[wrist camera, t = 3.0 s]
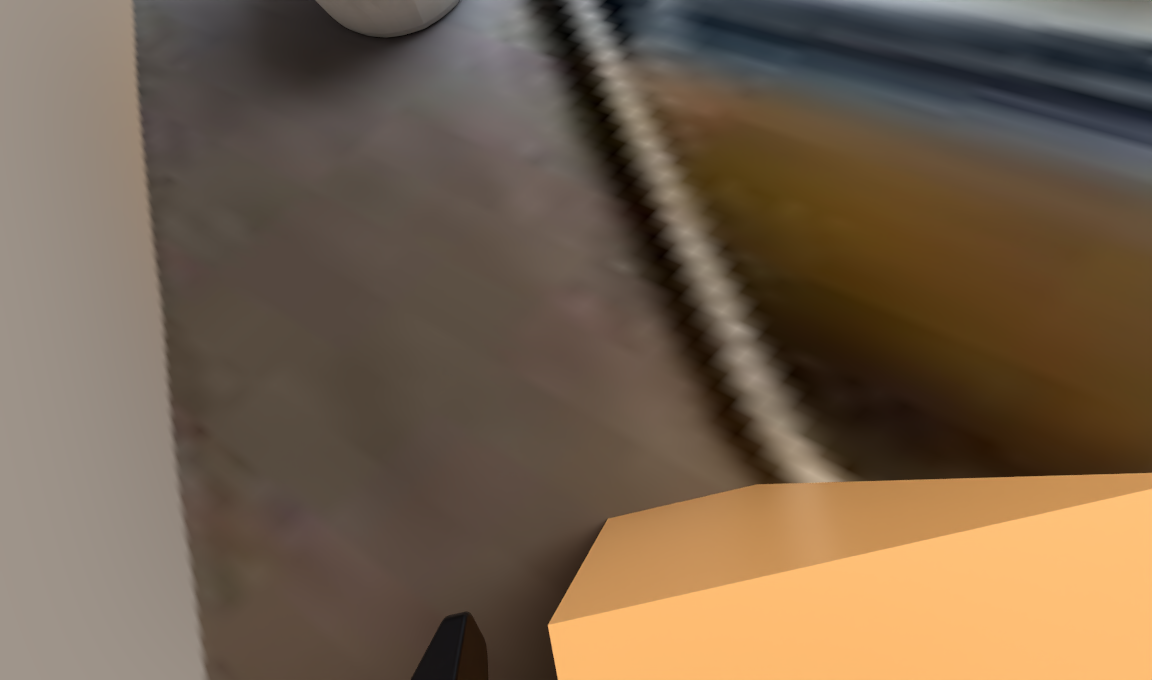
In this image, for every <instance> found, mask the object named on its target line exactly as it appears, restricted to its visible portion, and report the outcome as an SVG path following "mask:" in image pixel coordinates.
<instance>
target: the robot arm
mask: <svg viewBox="0 0 1152 680" xmlns="http://www.w3.org/2000/svg"><path fill="white" fill-rule="evenodd" d="M411 680H488V660H487V648H486V643H485V640H484V637H483V635H482V633H481V632H480V630H479V628H478V626H477V624H476V622H475V620H474V618H473V616H472V615H471V613H469V612H462V613H458V614H453V615H449V616H447V617H446V618H444V619H443V621H442V622H441V624H440V626H439V628H438V630H437V632H436V633H435V635H434V637H433V639H432V641H431V643H430V645H429V646H428V648H427V650H426V652H425V654H424V656H423V658H422V660H421V661H420V663H419V665H418V667H417V669H416V671H415V673H414V674H413V676H412V678H411Z"/></svg>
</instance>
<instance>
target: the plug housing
mask: <svg viewBox="0 0 1152 680" xmlns="http://www.w3.org/2000/svg"><path fill="white" fill-rule="evenodd" d="M548 629H549V634H550V639H551V645H552V650H553V656H554V661H555V666H556V672H557V677H558V680H1152V473H1135V474H1101V475H1067V476H1032V477H998V478H964V479H930V480H895V481H861V482H827V483H793V484H758V485H752V486H748V487H744V488H739V489H735V490H730V491H726V492H722V493H717V494H713V495H709V496H704V497H700V498H696V499H691V500H687V501H683V502H678V503H674V504H670V505H665V506H661V507H656V508H652V509H648V510H643V511H639V512H635V513H630V514H626V515H622V516H617V517H613V518H609V519H607V521H606V523H605V525H604V526H603V528H602V530H601V532H600V534H599V535H598V537H597V539H596V541H595V542H594V544H593V546H592V548H591V549H590V551H589V553H588V555H587V557H586V558H585V560H584V562H583V564H582V565H581V567H580V569H579V571H578V573H577V574H576V576H575V578H574V580H573V581H572V583H571V585H570V587H569V588H568V590H567V592H566V594H565V596H564V597H563V599H562V601H561V603H560V604H559V606H558V608H557V610H556V611H555V613H554V615H553V617H552V619H551V620H550V622H549V624H548Z"/></svg>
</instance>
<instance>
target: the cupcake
mask: <svg viewBox="0 0 1152 680" xmlns="http://www.w3.org/2000/svg"><path fill="white" fill-rule="evenodd" d="M315 1H316V2H317V3H318V4H319V5H320V6H321V7H322V8H323V9H324V10H325V11H326V12H327V13H328V14H329V15H330V16H331V17H332V18H334V19H335V20H336V21H337V22H339V23H340V24H341V25H343V26H344V27H346V28H348V29H350V30H352V31H355V32H358V33H361V34H364V35H368V36H375V37H385V38H387V37H394V36H401V35H406V34H409V33H413V32H416V31H419V30H422V29H424V28H427V27H428V26H430V25H431V24H433V23H435V22H436V21H438V20H439V19H441V18H442V17H443V16H445V15H446V14H447V13H448V12H449V11H450V10H451V9H452V8H453V7H455V6H456V5H457V3H458V2H459V0H315Z"/></svg>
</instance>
